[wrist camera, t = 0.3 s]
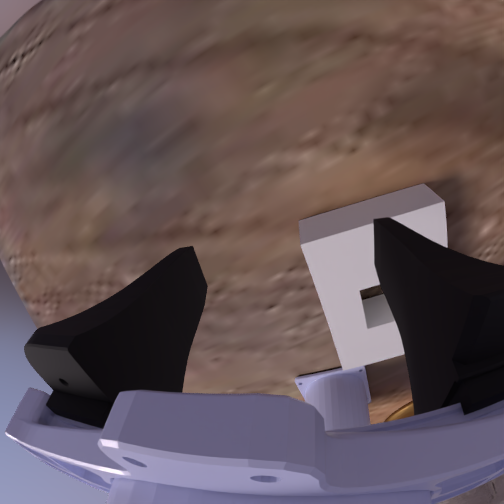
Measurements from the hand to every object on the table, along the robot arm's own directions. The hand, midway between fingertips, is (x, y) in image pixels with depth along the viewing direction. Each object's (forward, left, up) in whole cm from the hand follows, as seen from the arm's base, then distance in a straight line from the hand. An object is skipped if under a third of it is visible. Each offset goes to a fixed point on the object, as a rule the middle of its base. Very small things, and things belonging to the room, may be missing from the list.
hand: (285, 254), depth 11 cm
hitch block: (-10, -5, -10) cm, 15 cm away
